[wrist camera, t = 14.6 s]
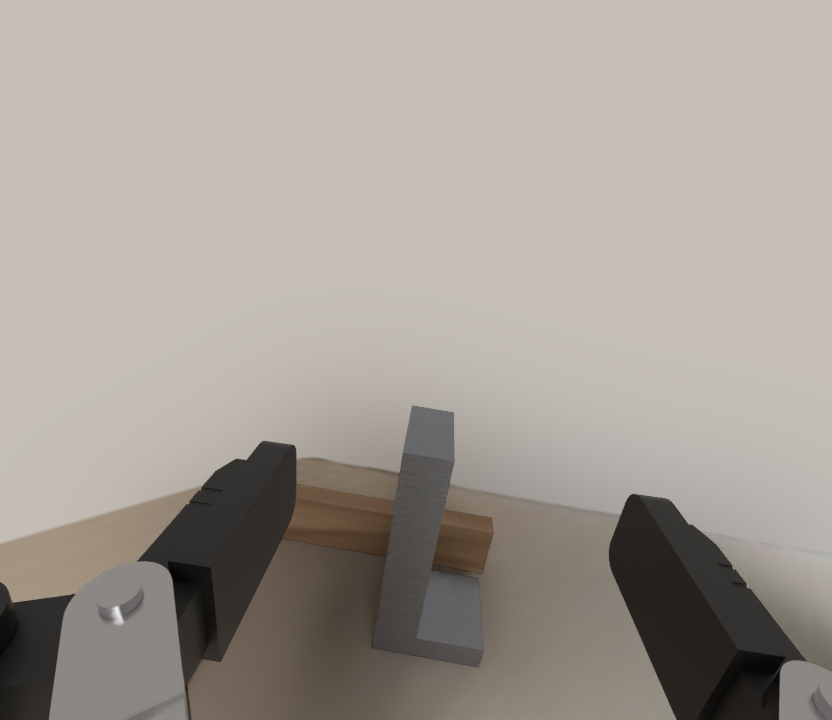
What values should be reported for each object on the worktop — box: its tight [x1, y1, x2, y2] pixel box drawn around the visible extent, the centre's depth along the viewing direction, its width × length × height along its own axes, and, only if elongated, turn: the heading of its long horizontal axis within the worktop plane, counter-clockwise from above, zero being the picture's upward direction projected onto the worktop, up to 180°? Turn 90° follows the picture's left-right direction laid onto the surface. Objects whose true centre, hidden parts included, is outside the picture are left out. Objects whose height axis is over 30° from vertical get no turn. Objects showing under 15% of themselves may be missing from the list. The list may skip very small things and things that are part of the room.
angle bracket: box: [372, 406, 484, 667], centre depth 24 cm, size 5×6×14 cm
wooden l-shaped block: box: [188, 484, 494, 682], centre depth 25 cm, size 14×18×4 cm
